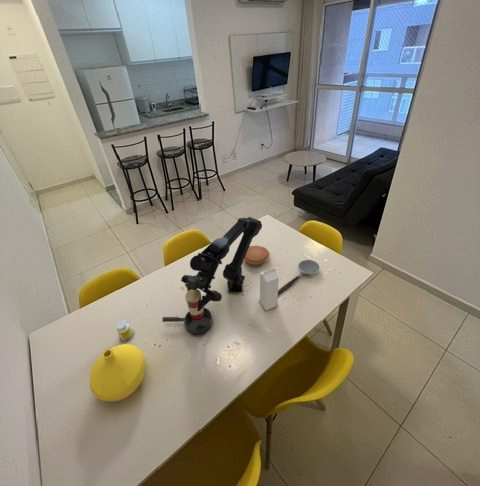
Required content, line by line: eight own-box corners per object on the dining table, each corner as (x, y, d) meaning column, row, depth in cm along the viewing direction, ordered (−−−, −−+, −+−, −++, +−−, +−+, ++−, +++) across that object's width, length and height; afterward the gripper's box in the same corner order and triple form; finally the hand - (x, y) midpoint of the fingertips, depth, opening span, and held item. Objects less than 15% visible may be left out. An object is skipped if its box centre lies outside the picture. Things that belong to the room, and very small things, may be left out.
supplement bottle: (135, 332, 112) (129, 321, 107) (128, 342, 108) (121, 330, 103) (126, 329, 113) (120, 318, 108) (118, 339, 110) (112, 327, 105)
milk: (277, 306, 120) (279, 272, 108) (265, 310, 118) (267, 277, 106) (270, 296, 125) (272, 263, 112) (259, 301, 123) (260, 267, 110)
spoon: (323, 270, 137) (323, 266, 135) (280, 306, 121) (280, 302, 119) (306, 261, 144) (307, 257, 143) (264, 293, 128) (264, 289, 127)
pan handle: (185, 318, 114) (185, 315, 112) (184, 322, 112) (184, 319, 111) (164, 318, 114) (163, 316, 113) (162, 322, 112) (161, 320, 111)
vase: (150, 398, 90) (135, 372, 79) (94, 417, 86) (70, 391, 76) (149, 350, 105) (137, 322, 94) (101, 364, 101) (82, 336, 90)
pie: (270, 268, 141) (270, 261, 138) (242, 268, 141) (241, 262, 138) (268, 249, 153) (268, 243, 150) (242, 250, 154) (242, 244, 151)
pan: (214, 312, 119) (213, 306, 117) (211, 336, 109) (210, 330, 107) (188, 312, 119) (186, 307, 117) (183, 336, 109) (181, 331, 107)
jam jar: (207, 311, 111) (203, 291, 104) (199, 323, 107) (195, 303, 100) (195, 306, 114) (191, 286, 106) (187, 317, 109) (181, 298, 102)
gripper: (180, 260, 104) (164, 296, 104) (213, 280, 95) (196, 320, 94) (196, 263, 114) (182, 296, 113) (229, 282, 104) (213, 318, 103)
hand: (192, 306), depth 106 cm, fingers closed on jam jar, 6 cm apart
